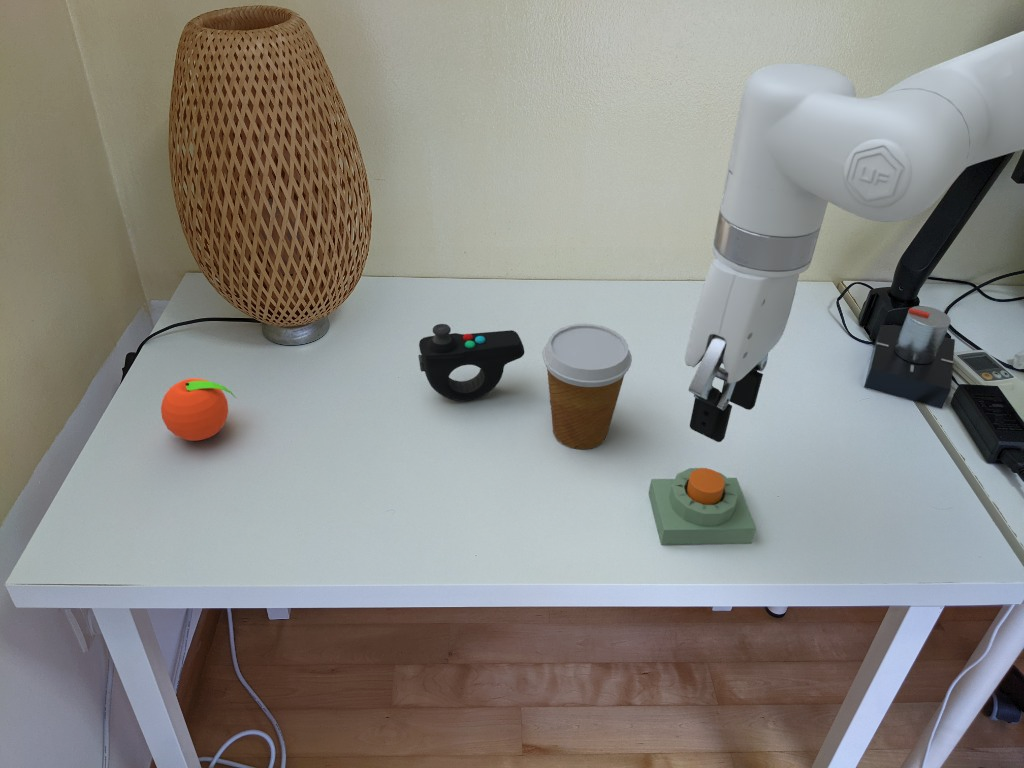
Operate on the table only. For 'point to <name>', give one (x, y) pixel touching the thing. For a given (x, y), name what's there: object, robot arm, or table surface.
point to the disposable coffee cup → (584, 381)
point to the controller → (467, 360)
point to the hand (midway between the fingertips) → (722, 416)
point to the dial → (922, 334)
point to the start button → (705, 486)
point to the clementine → (195, 409)
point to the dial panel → (909, 371)
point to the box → (699, 513)
